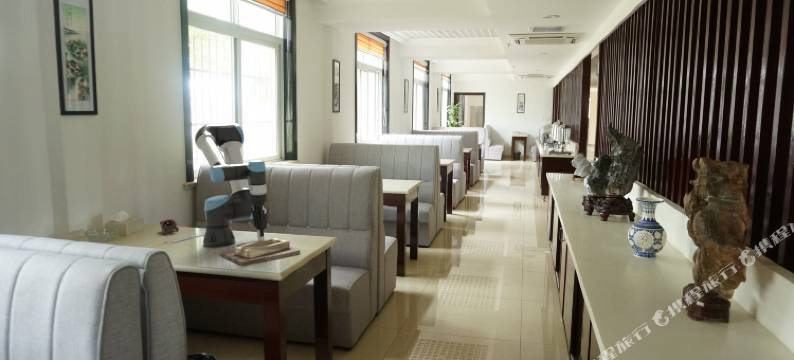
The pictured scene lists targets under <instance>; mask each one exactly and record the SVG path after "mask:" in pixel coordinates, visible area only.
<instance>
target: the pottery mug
mask: <svg viewBox="0 0 794 360" xmlns="http://www.w3.org/2000/svg"><path fill="white" fill-rule="evenodd" d="M159 225H160V228H161V233H162V235H165V233H169V232H172V231H174V230H175V231H178V232H179V227H178V225H179V223H178V222H176V220H174V219H171V218H168V219H165V220H161V221H160V222H159Z"/></svg>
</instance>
